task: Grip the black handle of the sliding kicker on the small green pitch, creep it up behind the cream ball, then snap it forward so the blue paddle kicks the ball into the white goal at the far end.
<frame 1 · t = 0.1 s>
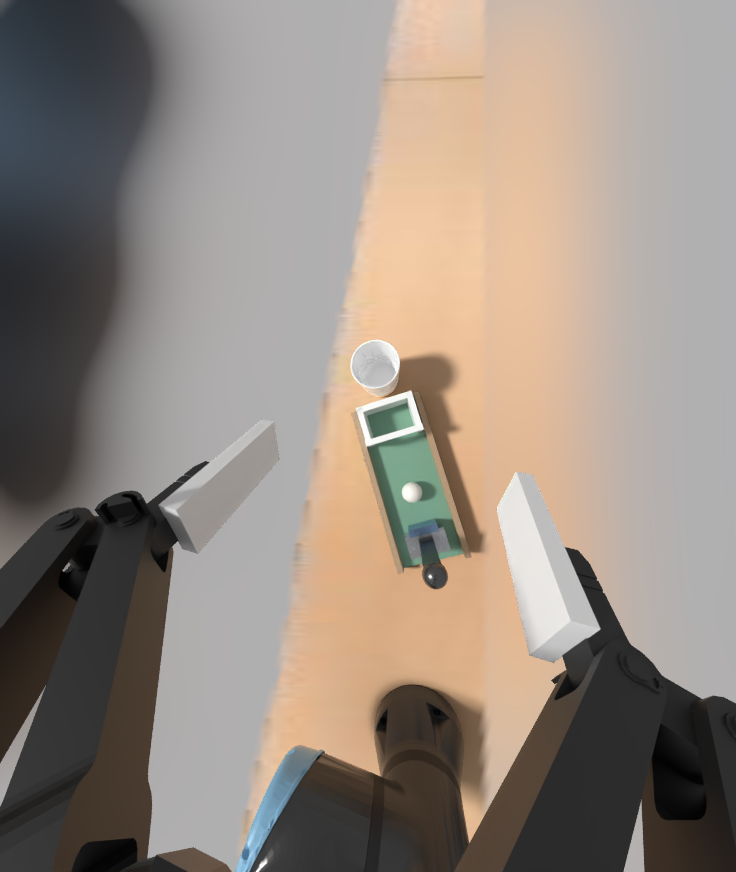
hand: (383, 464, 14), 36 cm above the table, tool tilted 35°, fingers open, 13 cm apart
ball: (411, 492, 46), point 3 cm above the table, touching pitch
kicker: (429, 552, 39), point 9 cm above the table, slide at 0.0 cm
pitch: (408, 479, 49), on the table
goal: (390, 422, 50), resting on pitch
white cup: (380, 380, 51), on the table
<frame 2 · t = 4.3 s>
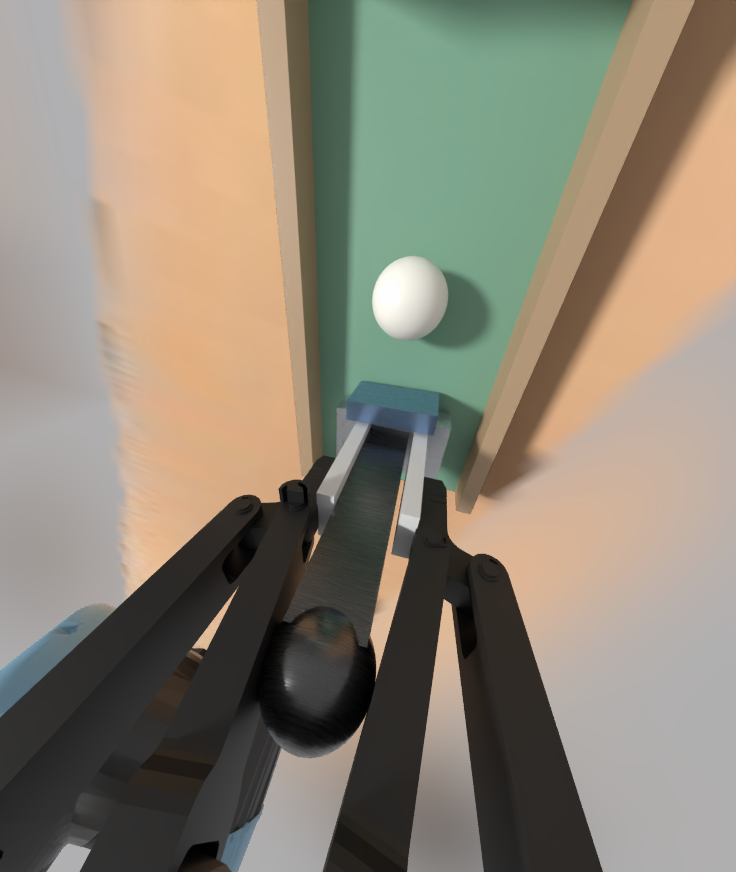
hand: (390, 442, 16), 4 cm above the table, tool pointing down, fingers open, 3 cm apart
ball: (409, 301, 12), point 3 cm above the table, touching pitch
kicker: (369, 500, 12), point 9 cm above the table, slide at 0.8 cm, touching gripper
pitch: (420, 253, 14), on the table
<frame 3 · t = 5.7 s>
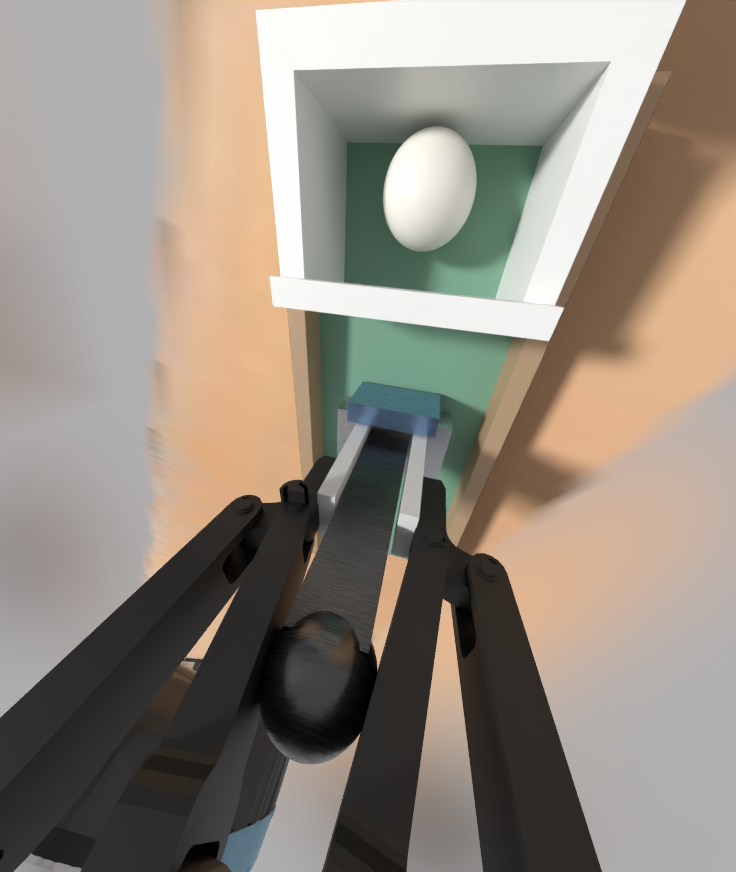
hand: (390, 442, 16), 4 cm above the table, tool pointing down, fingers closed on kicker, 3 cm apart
ball: (427, 196, 10), point 3 cm above the table, tilted 67°, touching pitch
kicker: (370, 502, 12), point 9 cm above the table, slide at 11.0 cm, touching gripper
pitch: (396, 421, 19), on the table
goal: (428, 224, 13), resting on pitch
flat black box: (218, 668, 84), on the table
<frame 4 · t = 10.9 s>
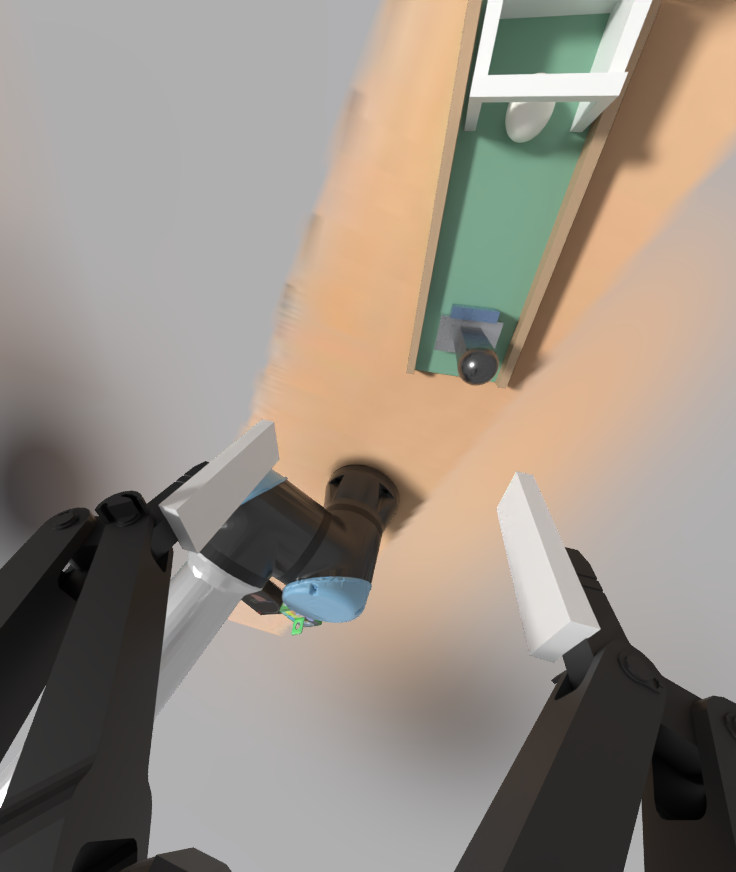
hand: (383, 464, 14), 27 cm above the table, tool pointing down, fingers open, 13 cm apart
ball: (529, 109, 21), point 3 cm above the table, tilted 41°, touching pitch
kicker: (473, 342, 26), point 9 cm above the table, slide at 1.6 cm
pitch: (489, 242, 29), on the table
goal: (534, 76, 22), resting on pitch
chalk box: (316, 575, 79), on the table
flat black box: (265, 588, 94), on the table
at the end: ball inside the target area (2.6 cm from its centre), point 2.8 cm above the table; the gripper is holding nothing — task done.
